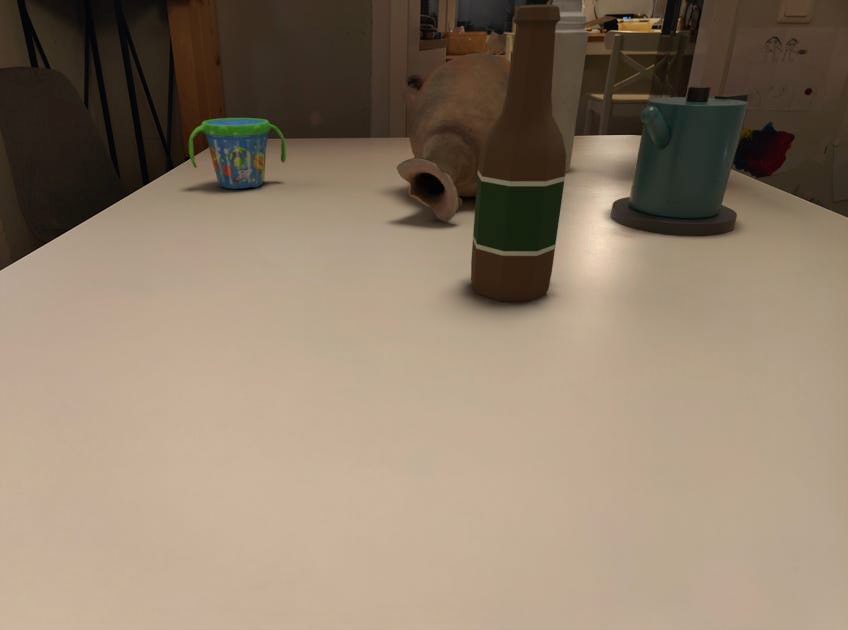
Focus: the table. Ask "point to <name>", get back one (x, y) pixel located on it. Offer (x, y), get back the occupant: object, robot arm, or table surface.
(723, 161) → the kettle
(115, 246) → the table surface
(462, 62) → the jug
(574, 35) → the thermos bottle
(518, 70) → the beer bottle
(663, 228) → the kettle base
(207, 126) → the snack cup
